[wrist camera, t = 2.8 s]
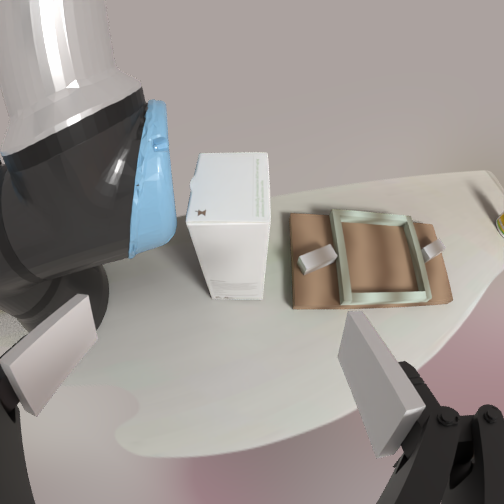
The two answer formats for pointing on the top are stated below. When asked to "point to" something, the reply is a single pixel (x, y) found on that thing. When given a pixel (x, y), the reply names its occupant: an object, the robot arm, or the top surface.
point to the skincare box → (231, 222)
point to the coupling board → (365, 261)
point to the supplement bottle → (500, 224)
